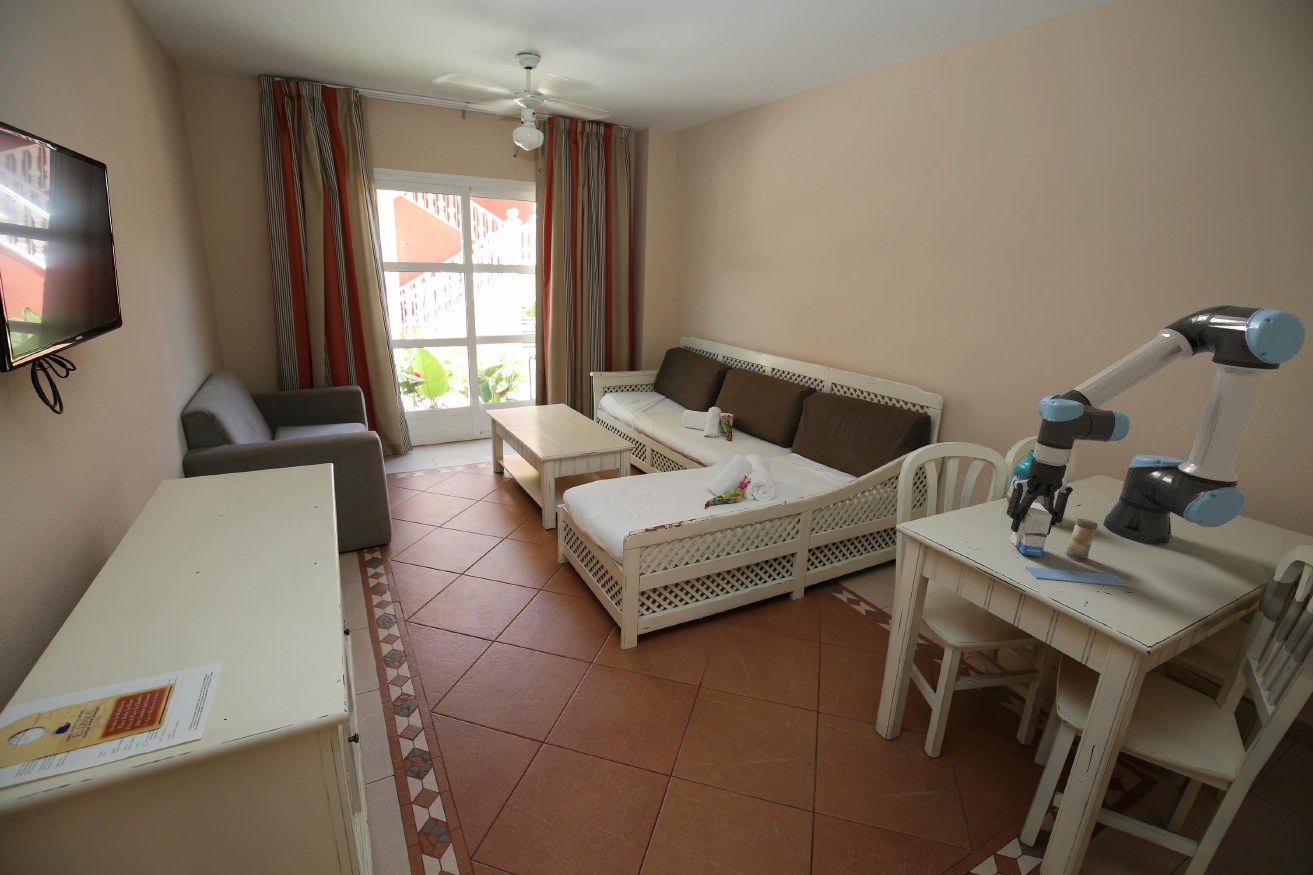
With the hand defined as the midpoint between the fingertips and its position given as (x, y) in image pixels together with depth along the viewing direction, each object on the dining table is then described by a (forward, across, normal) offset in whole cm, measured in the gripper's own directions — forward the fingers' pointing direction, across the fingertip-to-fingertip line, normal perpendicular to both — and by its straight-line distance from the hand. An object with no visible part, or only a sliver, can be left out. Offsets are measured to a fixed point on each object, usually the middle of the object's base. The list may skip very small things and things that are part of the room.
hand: (1026, 543), depth 153 cm
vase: (+2, -13, -28) cm, 30 cm away
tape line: (+2, -6, +12) cm, 14 cm away
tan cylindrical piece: (+2, -12, +1) cm, 12 cm away
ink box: (+2, 0, 0) cm, 2 cm away
